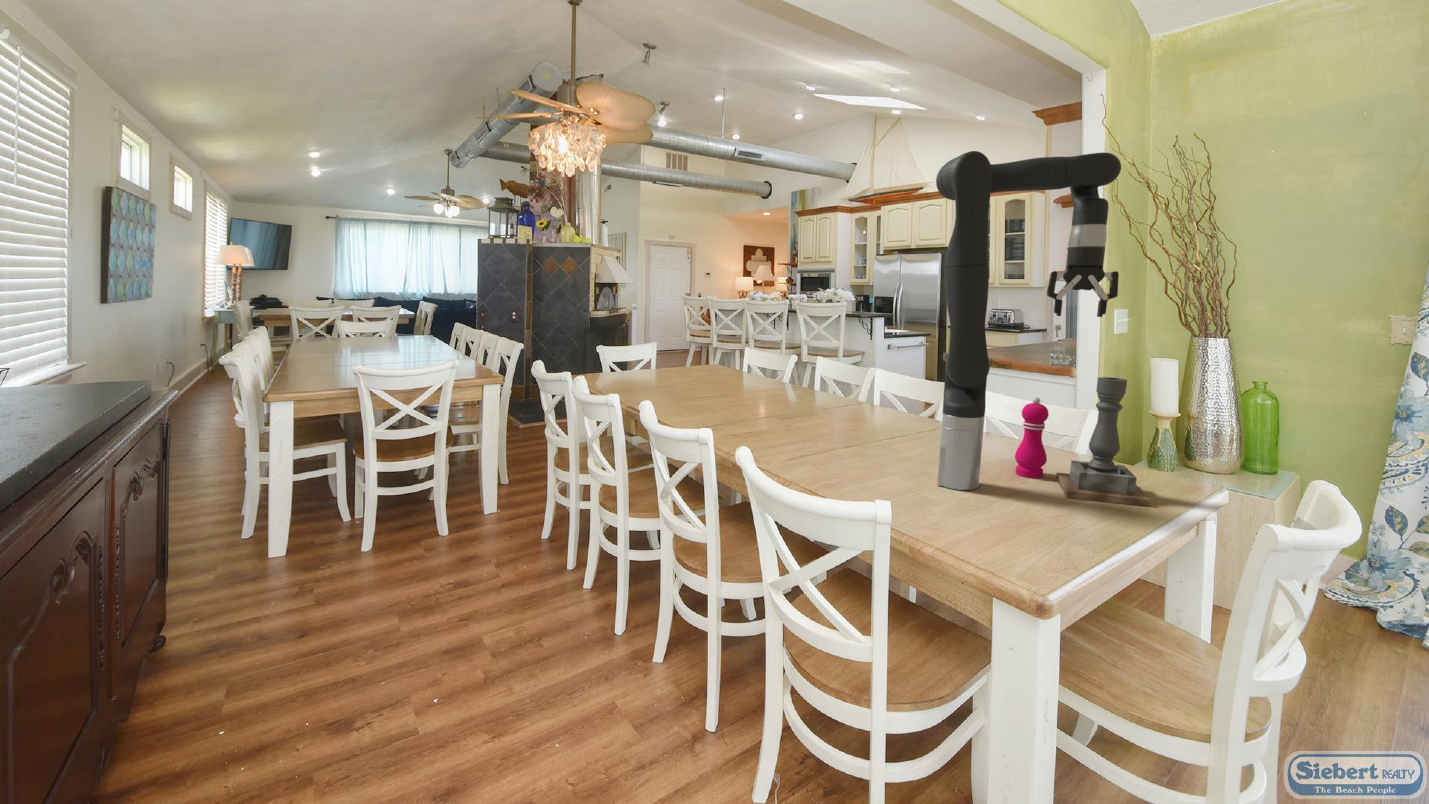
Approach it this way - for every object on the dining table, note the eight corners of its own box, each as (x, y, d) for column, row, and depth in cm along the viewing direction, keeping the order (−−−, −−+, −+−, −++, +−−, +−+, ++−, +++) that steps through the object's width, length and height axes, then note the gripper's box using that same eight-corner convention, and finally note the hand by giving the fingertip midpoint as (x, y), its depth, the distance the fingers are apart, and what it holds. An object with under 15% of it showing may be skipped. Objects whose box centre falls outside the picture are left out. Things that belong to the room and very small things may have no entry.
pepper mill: (1048, 479, 156) (1057, 400, 153) (1017, 477, 158) (1024, 398, 154) (1040, 471, 163) (1047, 395, 160) (1010, 469, 165) (1017, 394, 161)
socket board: (1066, 497, 143) (1069, 474, 142) (1056, 478, 157) (1058, 456, 156) (1149, 506, 137) (1153, 482, 136) (1130, 485, 152) (1133, 463, 151)
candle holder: (1078, 481, 150) (1090, 377, 145) (1103, 481, 150) (1115, 377, 146) (1095, 489, 144) (1108, 380, 139) (1121, 489, 144) (1135, 380, 140)
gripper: (1054, 245, 145) (1047, 316, 148) (1126, 244, 140) (1117, 317, 143) (1049, 247, 152) (1043, 315, 155) (1118, 246, 147) (1110, 316, 150)
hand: (1079, 316), depth 149 cm, fingers open, 8 cm apart
